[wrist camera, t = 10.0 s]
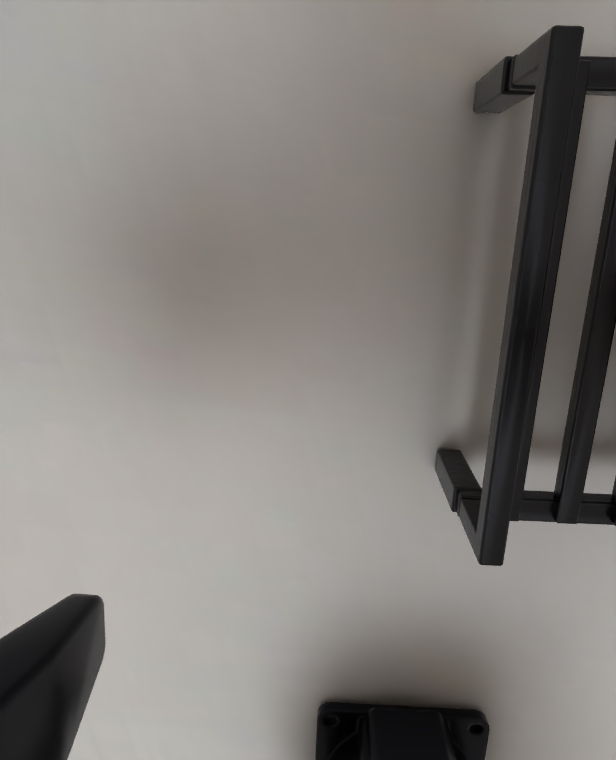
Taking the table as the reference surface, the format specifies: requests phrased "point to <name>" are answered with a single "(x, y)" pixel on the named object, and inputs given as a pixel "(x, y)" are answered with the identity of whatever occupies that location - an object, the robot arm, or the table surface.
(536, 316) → the rack
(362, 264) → the table surface
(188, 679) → the table surface
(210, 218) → the table surface
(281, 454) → the table surface
